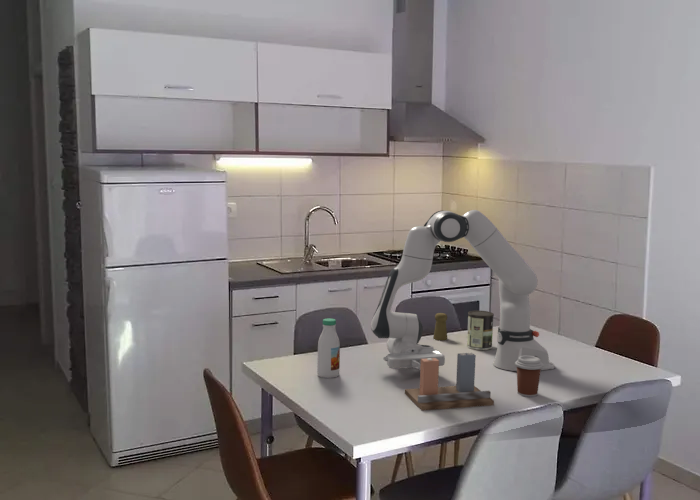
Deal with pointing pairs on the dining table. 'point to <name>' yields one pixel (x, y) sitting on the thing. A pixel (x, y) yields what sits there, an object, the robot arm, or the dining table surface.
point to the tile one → (429, 376)
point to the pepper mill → (440, 327)
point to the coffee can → (480, 330)
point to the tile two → (465, 372)
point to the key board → (450, 398)
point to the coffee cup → (528, 375)
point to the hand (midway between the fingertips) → (423, 366)
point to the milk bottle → (328, 350)
